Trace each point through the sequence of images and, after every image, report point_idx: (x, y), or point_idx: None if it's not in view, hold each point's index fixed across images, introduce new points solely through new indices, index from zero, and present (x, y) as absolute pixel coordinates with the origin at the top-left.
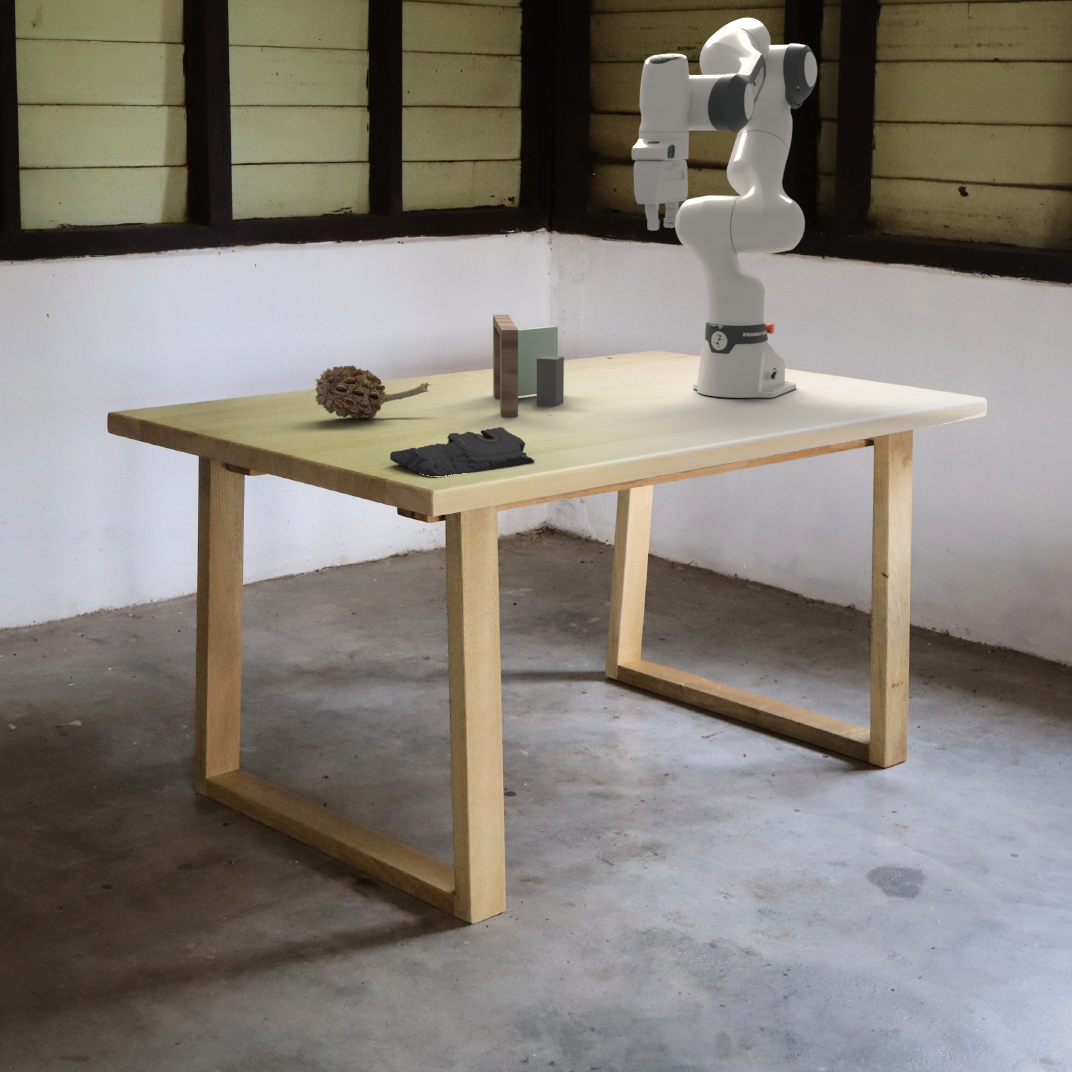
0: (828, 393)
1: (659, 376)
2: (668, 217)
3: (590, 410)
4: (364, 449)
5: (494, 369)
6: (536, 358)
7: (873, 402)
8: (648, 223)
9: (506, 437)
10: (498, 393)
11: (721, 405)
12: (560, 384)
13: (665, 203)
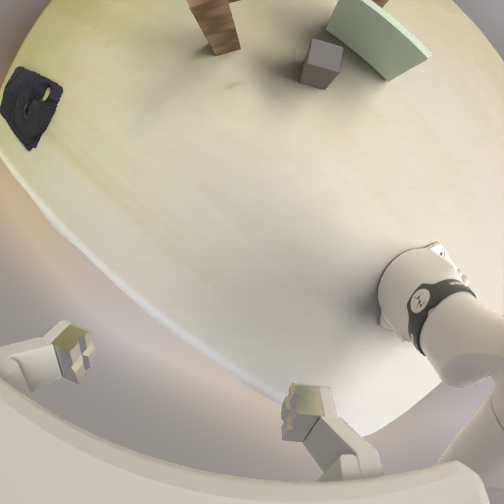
0: (403, 363)
1: (495, 204)
2: (316, 425)
3: (276, 126)
4: (60, 23)
5: None
6: (378, 42)
7: (356, 394)
8: (50, 333)
9: (31, 122)
10: None
11: (337, 279)
12: (319, 79)
13: (343, 474)
